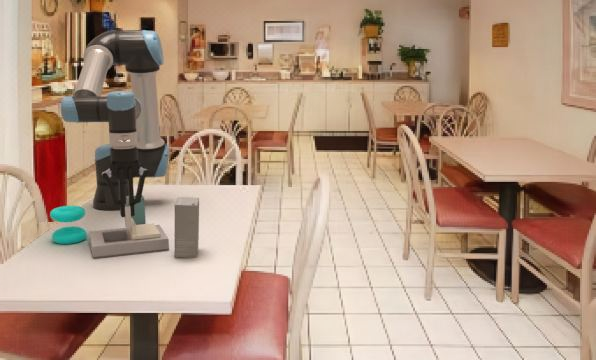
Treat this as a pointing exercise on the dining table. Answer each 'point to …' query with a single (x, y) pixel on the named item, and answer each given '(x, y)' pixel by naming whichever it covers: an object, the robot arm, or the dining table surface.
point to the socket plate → (124, 243)
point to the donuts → (68, 233)
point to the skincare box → (186, 227)
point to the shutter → (143, 231)
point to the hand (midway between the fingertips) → (128, 227)
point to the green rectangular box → (138, 211)
